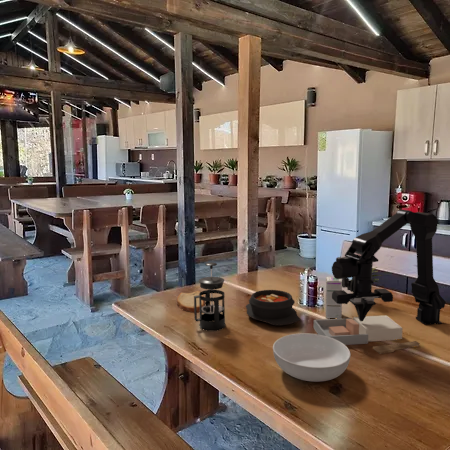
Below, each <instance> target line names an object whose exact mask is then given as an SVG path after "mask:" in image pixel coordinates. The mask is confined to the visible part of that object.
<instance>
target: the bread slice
mask: <svg viewBox="0 0 450 450" xmlns="http://www.w3.org/2000/svg"><path fill="white" fill-rule="evenodd" d="M200 292H202V291H201V290H196V291H192V292H189V293H187V292H180V293H179V294H178V295H177V297H176V305H177V306H178V308H179V309H181V310H182V309H183V310H182V311H185V312H188V311H189V312H188V313H194V296H198V295H199V293H200ZM201 296H203V297H205V296H204V295H201ZM201 304H202V307H203V306H206V301H203V300H201ZM196 307H197V313H200V305H199V298H196Z"/></svg>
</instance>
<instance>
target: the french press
mask: <svg viewBox="0 0 450 450" xmlns="http://www.w3.org/2000/svg"><path fill="white" fill-rule="evenodd" d="M217 265H218V263H216V262H206V263H205V266H207V267H209V269H210V276H205V277H202V278H199V279H198V282H199V286H200V287H199V288H201V289H202V291H201V292H200V293H199V295H198V296H194V312H193V313H194V321H195V322H199V324H198V326H200V327H199V328H200V329H201V328H202V329H201V330H203V329H204V330H203V331H206V330H207V331H208V332H217V330H218V331H221V330H223V329H224V328H226V326H227V325H226V316H225V315H226V312H225V311H226V310H225V295H226V294H225V292H224V291H223V290H219V289H222V288H223V286H224V282H225V279H224V278H222V277H219V276H213V267H216V266H217ZM203 289H204V290H203ZM213 294H218V295H219V296H215V297H213ZM201 295H203V296H204V295H205V296H204V297H203V296H201ZM220 295H221V296H220ZM196 298H199V305H200V312H199V318H198V317H197V316H198V314H197V313H198V312H197V307H196ZM201 300H203V301H205V306H203V307H202V304H201ZM220 301H221V305H220ZM207 331H206V332H207Z"/></svg>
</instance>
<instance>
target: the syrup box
mask: <svg viewBox="0 0 450 450" xmlns="http://www.w3.org/2000/svg"><path fill="white" fill-rule="evenodd" d="M339 290H343V287H342V279H336V278H335V277H334V276H326V278H325V318H326V319H330V318H337V319H343V318H342V312H343V304H337V303H336V302H335V301H334V300H333V299H332V293H333V291H339Z"/></svg>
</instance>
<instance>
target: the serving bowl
mask: <svg viewBox="0 0 450 450" xmlns="http://www.w3.org/2000/svg"><path fill="white" fill-rule="evenodd" d="M272 351H273V352H272V353H273V357H274V360H275V362H276V364H277V366H278V367H279V368H280V369H281V370H282V371H283V372H284V373H286V374H288V375H289V376H291V377H293V378H295V379H298V380H301V381H307V382H315V383H316V382H326V381H330V380H333V379H336V378H338V377H339V376H341V375H342V374H344V372H345V371H346V370H347V368H348V366H349V363H350V360H351V357H352V356H351V351H350V349H349V348H348V347H347V345H344V344H343V343H341V342H340V341H338V340H335V339H333V338H330V337H327V336H323V335H318V333H317V334H316V333H303V332H302V333H300V332H299V333H292V334H287V335H284V336H281V337H280V338H278V339H277V340H275V341H274V343H273V345H272Z"/></svg>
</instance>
